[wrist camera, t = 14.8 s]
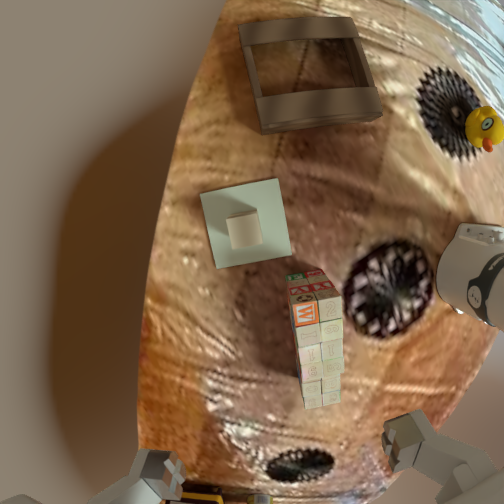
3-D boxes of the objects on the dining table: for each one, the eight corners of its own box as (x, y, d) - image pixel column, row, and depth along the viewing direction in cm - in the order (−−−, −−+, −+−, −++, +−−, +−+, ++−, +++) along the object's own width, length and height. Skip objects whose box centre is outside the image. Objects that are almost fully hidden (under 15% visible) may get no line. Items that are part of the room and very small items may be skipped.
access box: (342, 30, 36) (351, 15, 31) (370, 121, 40) (383, 114, 34) (239, 39, 37) (237, 23, 32) (262, 135, 41) (262, 128, 36)
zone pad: (277, 178, 42) (277, 178, 42) (291, 254, 45) (291, 254, 44) (200, 194, 43) (199, 194, 43) (217, 268, 46) (216, 269, 45)
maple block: (257, 208, 43) (256, 213, 36) (262, 234, 44) (262, 243, 37) (231, 214, 43) (225, 219, 36) (236, 239, 44) (232, 249, 37)
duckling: (469, 162, 40) (503, 161, 30) (452, 144, 40) (486, 139, 30) (484, 121, 38) (515, 115, 28) (468, 103, 37) (499, 94, 28)
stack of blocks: (329, 372, 50) (344, 414, 38) (297, 378, 51) (306, 422, 39) (321, 267, 46) (342, 295, 34) (283, 274, 46) (292, 305, 34)
